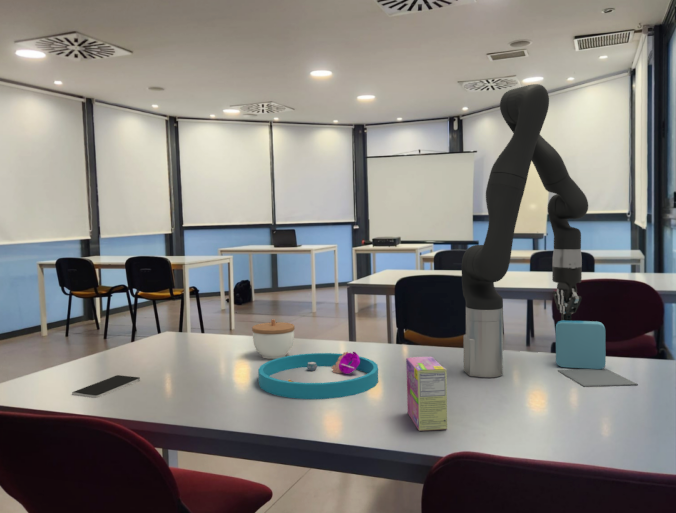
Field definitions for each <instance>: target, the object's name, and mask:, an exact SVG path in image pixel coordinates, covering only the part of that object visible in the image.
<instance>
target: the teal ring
mask: <svg viewBox="0 0 676 513" xmlns="http://www.w3.org/2000/svg"><path fill="white" fill-rule="evenodd" d="M378 366H379V365H378V363H376V362H375V361H374V360H372V359H369V358H367V357H363V356H359V354H358V353H357V352H356V351H352V352H348V351H345V352H343V353H334V352H333V353H332V352H315V353H313V352H312V353H299V354H294V355H293V354H291V355H286V356H285V357H281V358H277V359H270V360H269V361H268V360H267V361H266V362H264V363H263V364H261V365H260V366H259V368H258V370H257V371H258V372H257V373H258V374H257V375H258V385H259V388H260V389H261V390H263V391H264V392H266V393H269V394H272V395H274V396H278V397H283V398H289V399H298V400H299V399H300V400H328V399H337V398H339V399H340V398H346V397H350V396H356V395H359V394H362V393H365V392H368V391H370V390H371V389H373V388H375V387H376V386H377V384H378V383H379V367H378ZM318 367H331V370H332V372H333V373H334V374H338V375H340V374H345V375H346V374H347V375H349V374H351V373H353V372H354V371H356V370H357V371H361V372H364V373H366V374H364V375H361V376H358V377H355V378H350V379H345V380H339V381H328V382H327V381H326V382H301V381H292V379H287V380H283V379H278V378H275V377H272V375H275V374H277V373H281V372H285V371H288V370H293V369H299V368H301V369H302V368H307V370H308V371H310V372H314V371H315V370H316V369H317V368H318Z"/></svg>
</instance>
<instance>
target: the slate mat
mask: <svg viewBox="0 0 676 513" xmlns="http://www.w3.org/2000/svg"><path fill="white" fill-rule="evenodd" d="M557 372H558V373H560V374H562V375H564V376H565V377H567V378H569V379H570V380H572V381H573V382H574V383H577V384H578V385H580V386H582V387H583V388H585V387H586V388H590V387H596V388H597V387H620V386H621V387H623V386H638V383H637V382H634V381H632V380H630V379H628V378H626V377H624V376H623V375H620V374H618V373H616V372H615V371H612V370H611V369H608V368H603V369H584V368H575V369H557Z"/></svg>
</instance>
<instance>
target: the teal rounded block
mask: <svg viewBox="0 0 676 513" xmlns="http://www.w3.org/2000/svg"><path fill="white" fill-rule="evenodd" d="M555 325H556V326H555V362H556V364H557V366H559V367H561V368H567V369H605V367H606V362H607V361H606V359H607V358H606V354H607V353H606V349H607V348H606V327H605V325H604V324H603V323H602V322H600V321H597V320H596V321H593V320H592V321H590V320H571V321H567V320H559V321H557V322H556V324H555Z"/></svg>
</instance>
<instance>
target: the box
mask: <svg viewBox="0 0 676 513" xmlns="http://www.w3.org/2000/svg"><path fill="white" fill-rule="evenodd" d="M405 361H406V362H405V363H406V366H405V367H406V368H405V370H406V400H407V401H406V402H407V403H406V404H407V406H406V407H407V414H408V416H409V417H410V419H411V420H412V423H413V424H414V426H415V427H416V429H417V430H418V431H419V432H421V431H422V432H423V431H439V430H440V431H441V430H448V397H447V396H448V394H447V393H448V392H447V391H448V390H447V388H448V386H447V385H448V384H447V371H448V370H447V368H446V367H444V366H443V365H442V364H441V363H440V362H439V361H437V360H436V359H435V357H433V356H415V357H413V356H412V357H406V359H405Z"/></svg>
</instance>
